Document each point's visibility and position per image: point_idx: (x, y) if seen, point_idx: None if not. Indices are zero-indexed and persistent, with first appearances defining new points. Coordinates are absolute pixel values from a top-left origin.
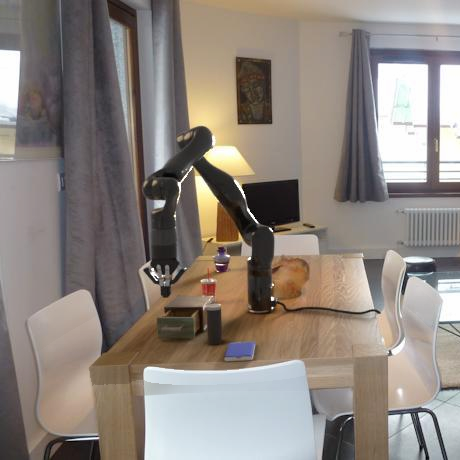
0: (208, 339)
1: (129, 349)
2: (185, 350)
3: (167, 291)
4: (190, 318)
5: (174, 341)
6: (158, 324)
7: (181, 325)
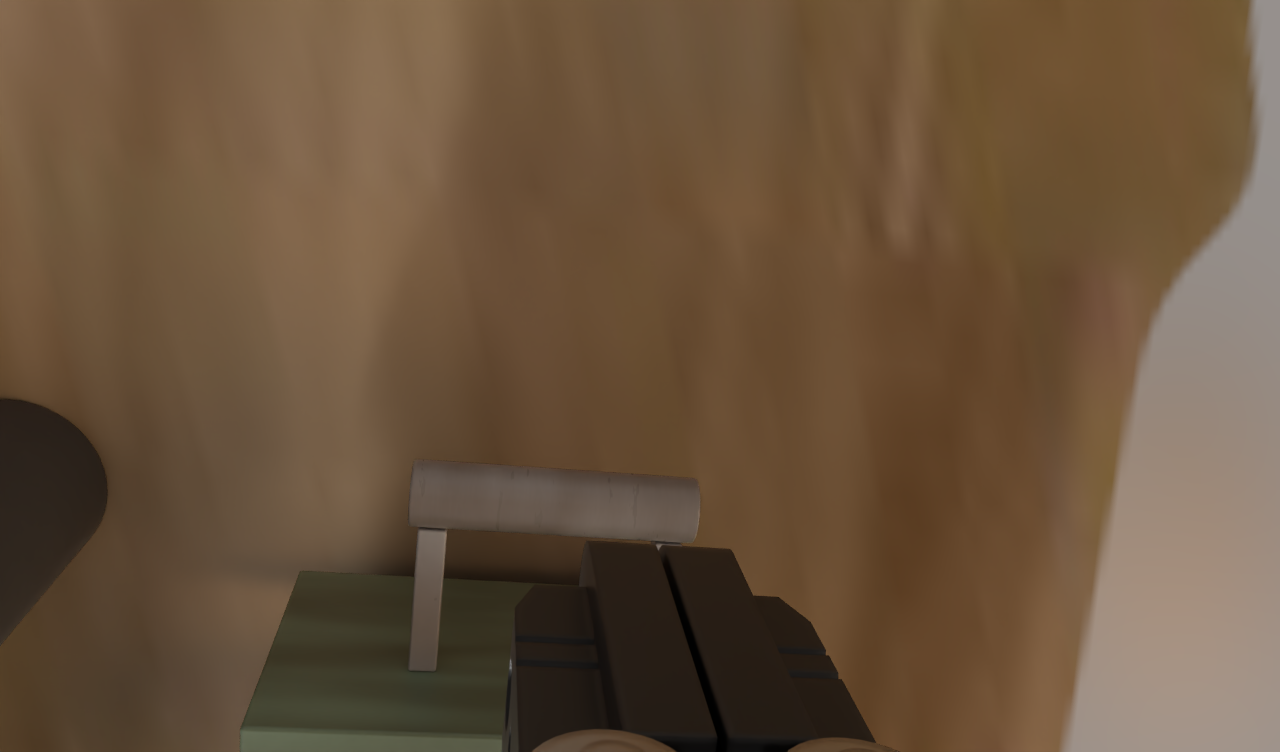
0: (62, 455)
1: (1011, 333)
2: (335, 229)
3: (600, 642)
4: (290, 724)
5: (549, 562)
6: None
7: (449, 667)
